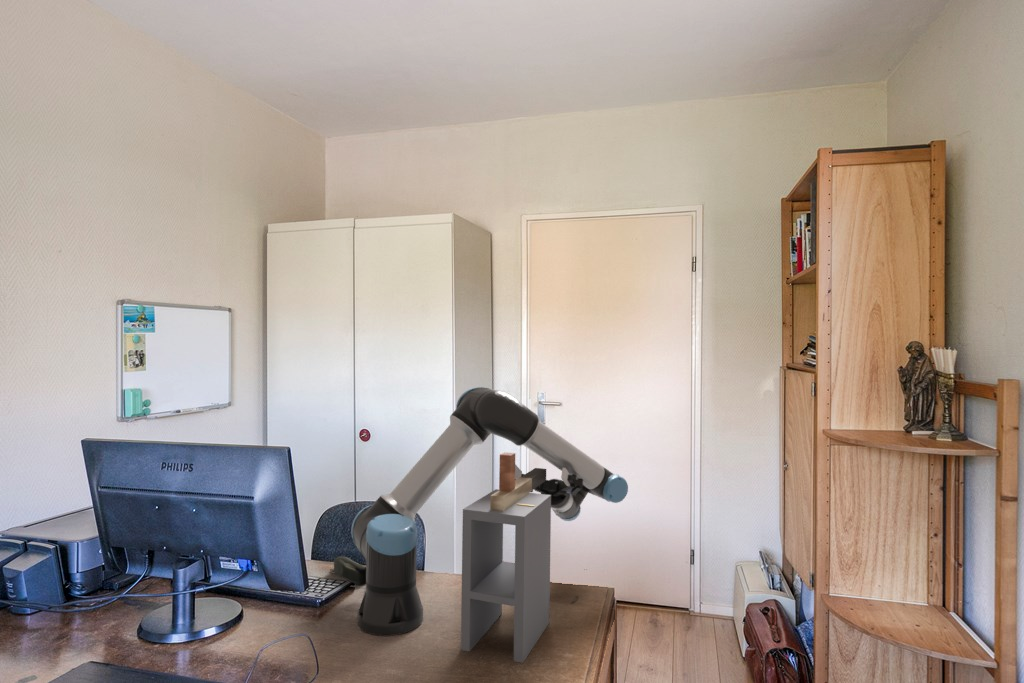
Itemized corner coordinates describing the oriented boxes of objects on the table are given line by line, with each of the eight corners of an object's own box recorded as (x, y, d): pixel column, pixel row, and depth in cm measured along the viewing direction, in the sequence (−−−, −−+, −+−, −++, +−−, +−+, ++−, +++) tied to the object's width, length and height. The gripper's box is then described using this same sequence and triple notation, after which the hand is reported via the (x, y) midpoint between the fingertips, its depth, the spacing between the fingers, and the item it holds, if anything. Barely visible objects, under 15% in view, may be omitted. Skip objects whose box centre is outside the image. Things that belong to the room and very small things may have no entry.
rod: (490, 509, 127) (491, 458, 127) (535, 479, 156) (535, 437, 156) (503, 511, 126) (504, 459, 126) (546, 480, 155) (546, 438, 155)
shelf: (460, 649, 127) (462, 508, 127) (494, 612, 144) (495, 488, 145) (522, 662, 122) (524, 515, 122) (549, 622, 140) (551, 494, 140)
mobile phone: (370, 566, 161) (337, 552, 170) (360, 569, 159) (328, 554, 168) (369, 584, 161) (336, 569, 170) (360, 588, 159) (327, 572, 168)
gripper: (599, 513, 162) (583, 489, 145) (513, 503, 171) (489, 480, 154) (602, 486, 166) (587, 460, 149) (518, 478, 175) (495, 453, 157)
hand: (537, 470), depth 151 cm, fingers open, 13 cm apart
